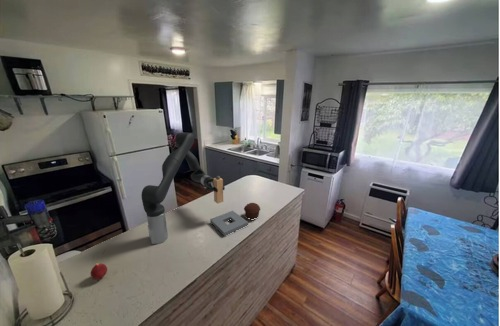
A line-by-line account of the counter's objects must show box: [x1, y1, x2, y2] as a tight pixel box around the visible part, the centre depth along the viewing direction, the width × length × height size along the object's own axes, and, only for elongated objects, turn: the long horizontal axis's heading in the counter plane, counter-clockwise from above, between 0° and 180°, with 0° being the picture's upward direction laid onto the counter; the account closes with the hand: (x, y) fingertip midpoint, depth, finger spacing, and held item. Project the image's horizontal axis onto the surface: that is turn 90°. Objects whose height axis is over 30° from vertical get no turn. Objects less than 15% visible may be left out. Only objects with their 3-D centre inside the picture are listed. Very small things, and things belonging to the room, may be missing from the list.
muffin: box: [243, 202, 261, 219], centre depth 135 cm, size 12×11×10 cm
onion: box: [90, 262, 108, 280], centre depth 85 cm, size 6×6×8 cm
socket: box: [209, 210, 249, 237], centre depth 126 cm, size 18×18×3 cm
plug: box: [213, 175, 224, 204], centre depth 125 cm, size 4×4×18 cm
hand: (220, 189), depth 123 cm, fingers closed on plug, 4 cm apart
